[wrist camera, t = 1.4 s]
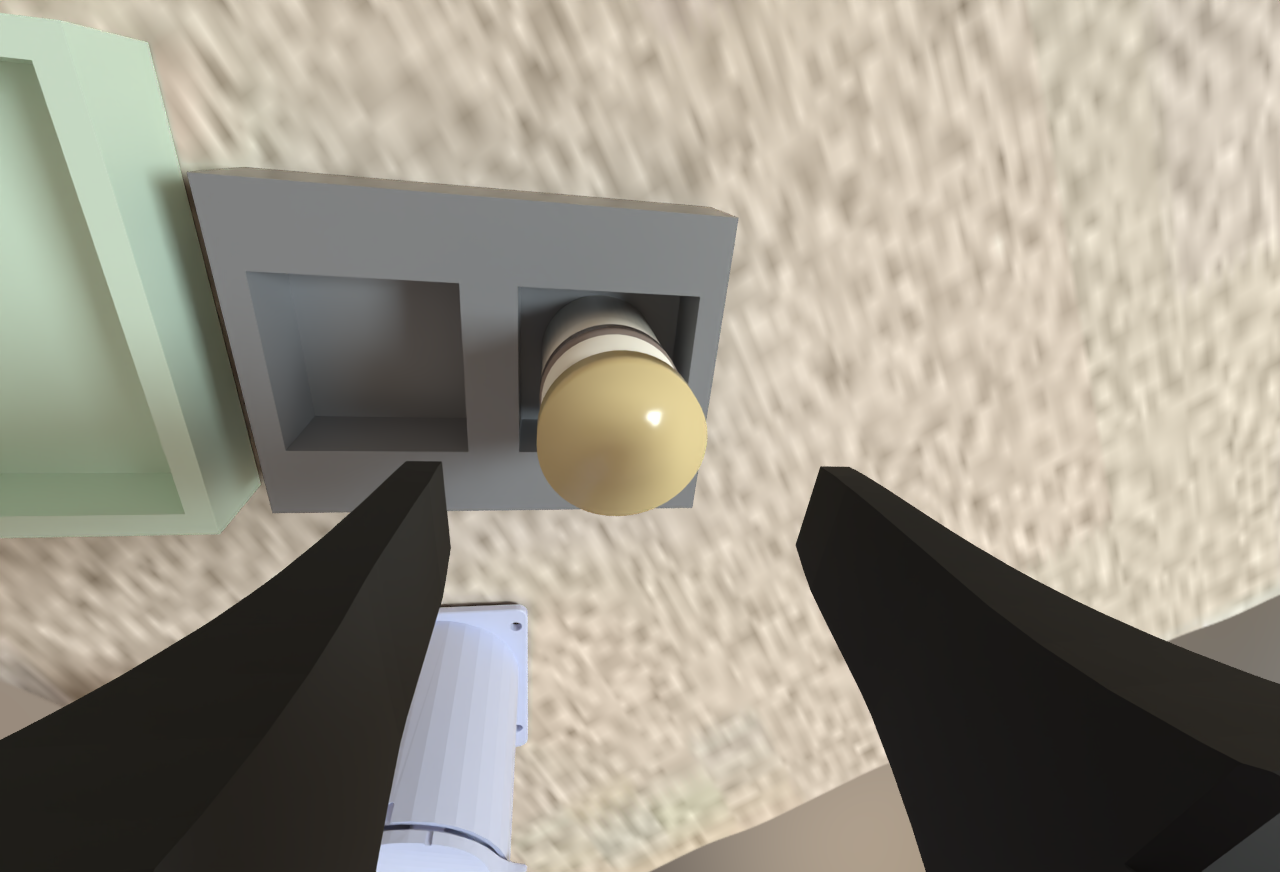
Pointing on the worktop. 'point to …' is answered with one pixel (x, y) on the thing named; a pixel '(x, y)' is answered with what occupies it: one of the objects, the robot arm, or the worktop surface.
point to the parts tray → (105, 304)
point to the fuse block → (434, 321)
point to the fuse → (614, 411)
